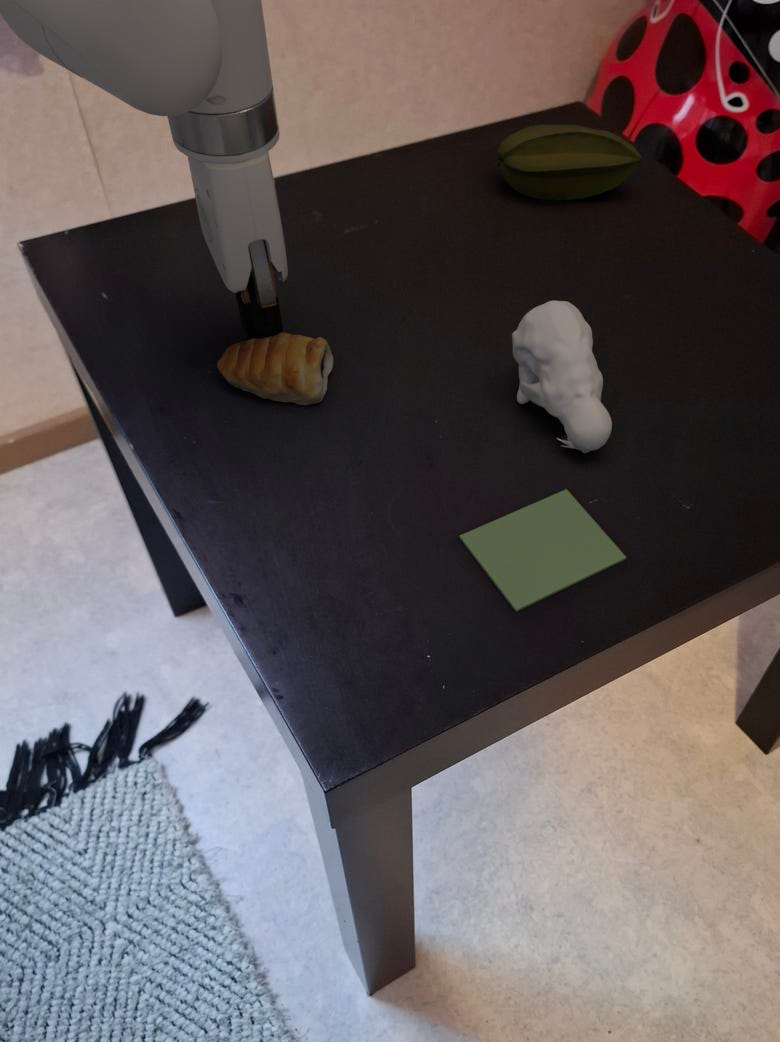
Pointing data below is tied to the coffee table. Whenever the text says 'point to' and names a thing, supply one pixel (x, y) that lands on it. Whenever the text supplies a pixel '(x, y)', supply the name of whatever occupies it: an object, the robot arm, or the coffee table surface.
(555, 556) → the cloth
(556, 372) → the grey lumpy elongated piece
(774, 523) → the coffee table surface
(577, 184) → the fruit
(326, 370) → the pastry
